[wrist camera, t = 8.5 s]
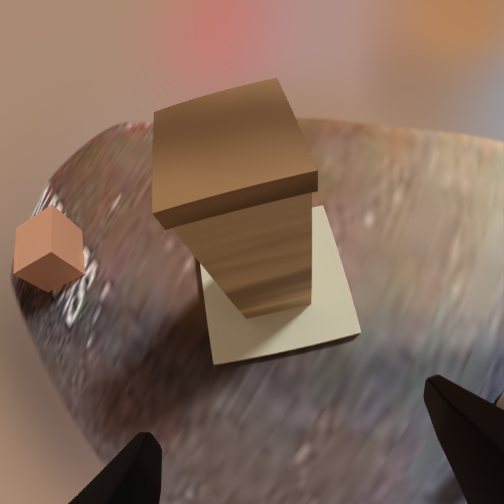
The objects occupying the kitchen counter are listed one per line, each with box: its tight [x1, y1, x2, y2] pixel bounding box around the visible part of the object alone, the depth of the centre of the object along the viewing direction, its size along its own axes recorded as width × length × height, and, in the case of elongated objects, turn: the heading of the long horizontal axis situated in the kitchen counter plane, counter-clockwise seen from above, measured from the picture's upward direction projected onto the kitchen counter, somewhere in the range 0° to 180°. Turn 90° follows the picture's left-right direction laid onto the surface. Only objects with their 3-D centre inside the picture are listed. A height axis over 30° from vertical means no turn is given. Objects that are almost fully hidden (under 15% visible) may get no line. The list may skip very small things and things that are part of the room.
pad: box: [200, 205, 361, 365], centre depth 23 cm, size 10×10×1 cm
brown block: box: [152, 78, 318, 319], centre depth 16 cm, size 5×5×14 cm
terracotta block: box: [13, 205, 85, 292], centre depth 25 cm, size 5×5×5 cm
